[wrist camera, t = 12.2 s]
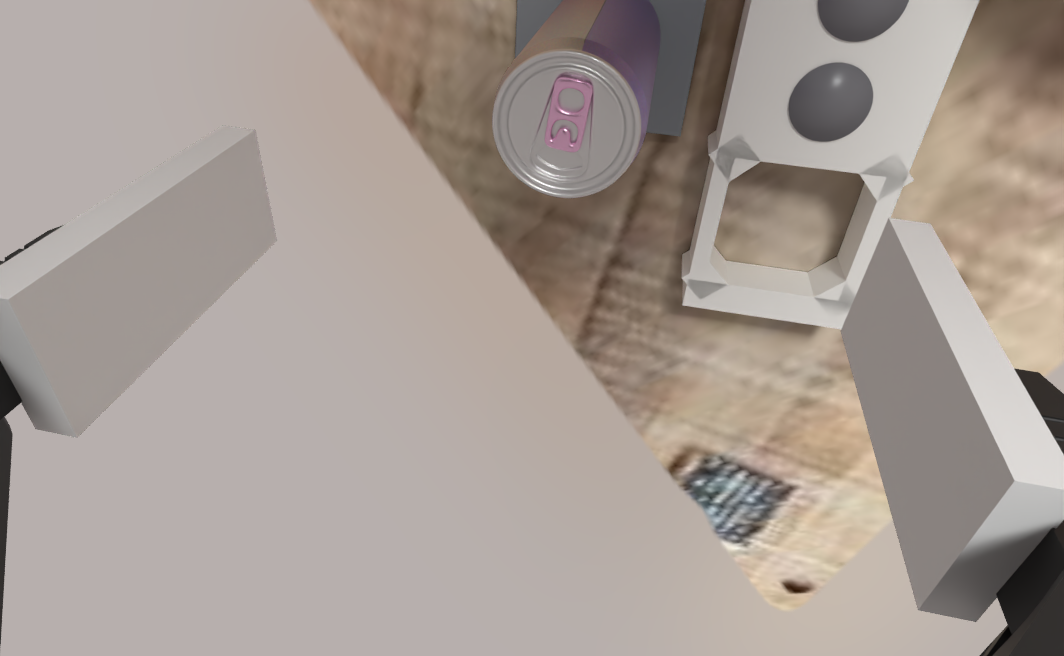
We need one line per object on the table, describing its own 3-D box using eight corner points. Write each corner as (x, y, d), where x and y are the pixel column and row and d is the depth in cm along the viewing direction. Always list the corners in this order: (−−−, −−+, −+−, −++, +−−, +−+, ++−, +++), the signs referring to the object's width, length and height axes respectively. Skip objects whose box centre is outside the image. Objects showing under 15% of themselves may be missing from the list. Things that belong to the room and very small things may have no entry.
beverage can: (675, -11, 35) (666, 66, 23) (644, 102, 39) (623, 219, 27) (563, -36, 35) (498, 27, 23) (543, 78, 39) (478, 183, 27)
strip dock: (809, -336, 28) (822, -356, 25) (1092, -325, 27) (1140, -345, 24) (676, 280, 46) (675, 309, 43) (842, 304, 44) (853, 336, 41)
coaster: (522, -78, 35) (520, -77, 35) (717, -61, 34) (717, -60, 34) (514, 113, 41) (512, 116, 41) (680, 132, 40) (680, 136, 39)
